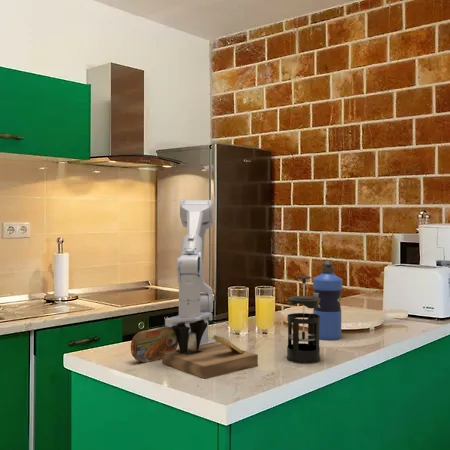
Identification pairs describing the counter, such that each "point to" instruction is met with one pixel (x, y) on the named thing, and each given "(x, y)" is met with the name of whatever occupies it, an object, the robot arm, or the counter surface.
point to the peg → (191, 343)
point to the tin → (153, 344)
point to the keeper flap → (228, 344)
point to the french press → (301, 350)
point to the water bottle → (328, 302)
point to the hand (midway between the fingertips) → (189, 350)
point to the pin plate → (210, 360)
